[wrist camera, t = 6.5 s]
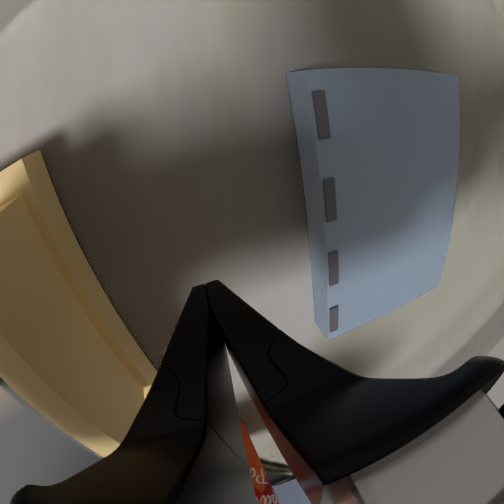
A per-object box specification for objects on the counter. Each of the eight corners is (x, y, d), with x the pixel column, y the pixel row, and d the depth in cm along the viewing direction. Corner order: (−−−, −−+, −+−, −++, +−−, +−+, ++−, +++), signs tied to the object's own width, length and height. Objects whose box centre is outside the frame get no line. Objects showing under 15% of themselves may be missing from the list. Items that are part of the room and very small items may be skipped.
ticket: (434, 72, 10) (459, 75, 8) (423, 272, 16) (440, 286, 15) (285, 73, 9) (306, 69, 7) (315, 321, 15) (328, 342, 14)
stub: (39, 149, 7) (-57, 208, 3) (158, 373, 14) (170, 467, 9) (-54, 212, 6) (-125, 286, 2) (71, 391, 13) (66, 474, 8)
